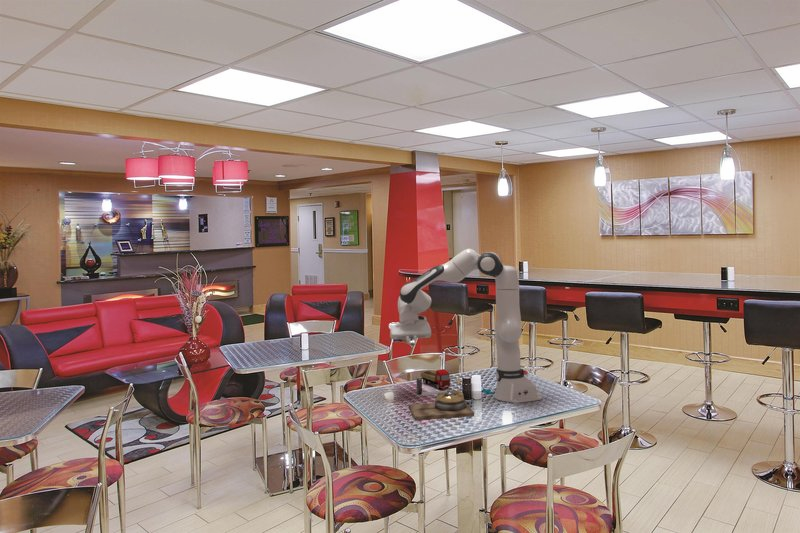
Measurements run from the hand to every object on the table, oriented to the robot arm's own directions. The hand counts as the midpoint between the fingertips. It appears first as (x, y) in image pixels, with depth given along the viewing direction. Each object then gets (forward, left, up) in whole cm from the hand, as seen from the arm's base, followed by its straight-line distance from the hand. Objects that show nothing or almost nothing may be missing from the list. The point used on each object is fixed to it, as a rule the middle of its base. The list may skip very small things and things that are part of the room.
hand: (412, 344), depth 253 cm
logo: (-36, -20, -28) cm, 50 cm away
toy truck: (-16, -25, -28) cm, 40 cm away
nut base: (-9, +19, -27) cm, 35 cm away
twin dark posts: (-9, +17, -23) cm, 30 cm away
